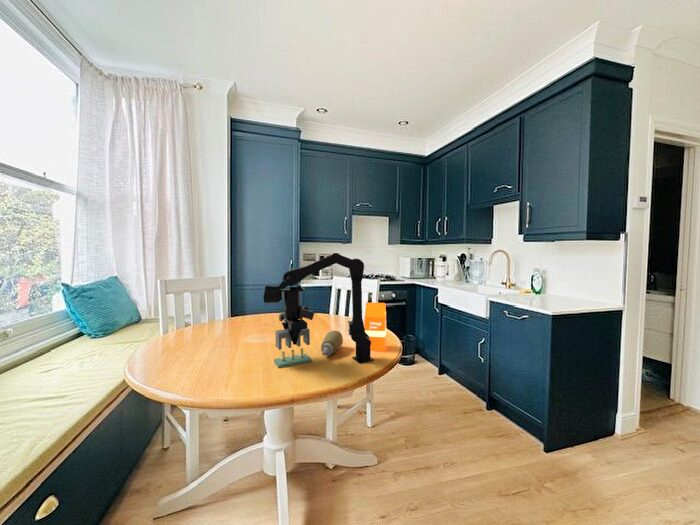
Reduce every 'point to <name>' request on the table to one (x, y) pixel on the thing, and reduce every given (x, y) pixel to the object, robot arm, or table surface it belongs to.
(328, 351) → the squeeze bottle
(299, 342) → the block
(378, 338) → the orange juice
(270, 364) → the table surface
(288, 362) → the strip
